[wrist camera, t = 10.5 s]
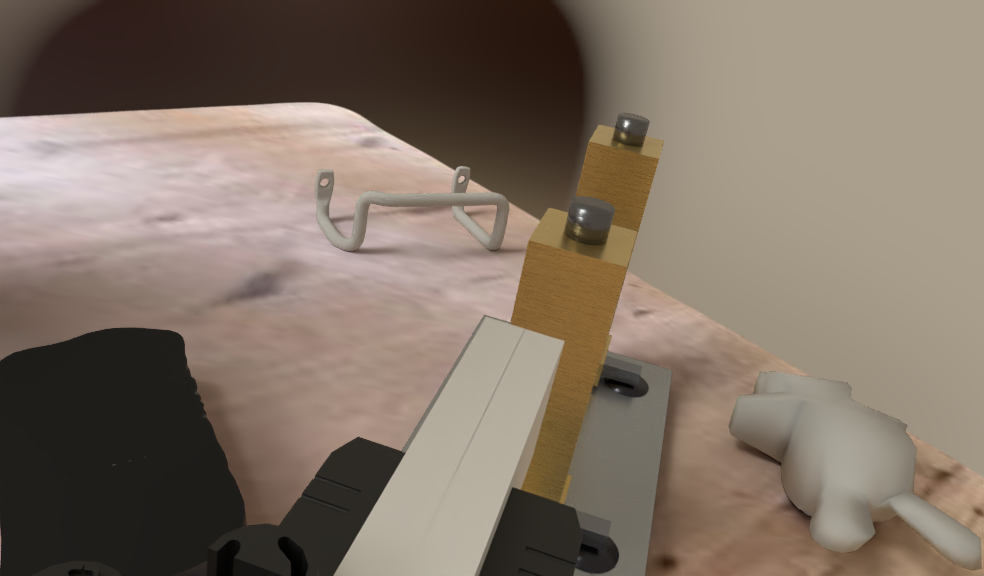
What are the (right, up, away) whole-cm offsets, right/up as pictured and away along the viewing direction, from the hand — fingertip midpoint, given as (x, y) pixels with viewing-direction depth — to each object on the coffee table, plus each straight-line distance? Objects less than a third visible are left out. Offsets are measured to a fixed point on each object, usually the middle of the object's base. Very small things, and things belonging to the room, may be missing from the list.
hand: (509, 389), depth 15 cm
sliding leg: (+2, -8, +21) cm, 22 cm away
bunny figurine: (+17, -9, +29) cm, 35 cm away
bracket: (-7, +6, +48) cm, 49 cm away
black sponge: (-17, -7, +20) cm, 27 cm away
